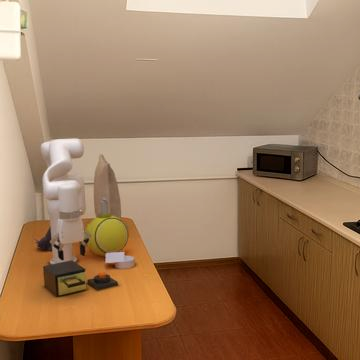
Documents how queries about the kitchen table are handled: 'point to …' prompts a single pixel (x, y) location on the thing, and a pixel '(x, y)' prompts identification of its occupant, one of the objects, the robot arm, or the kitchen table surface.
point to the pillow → (106, 188)
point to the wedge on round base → (120, 260)
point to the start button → (102, 275)
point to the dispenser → (59, 274)
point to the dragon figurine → (46, 241)
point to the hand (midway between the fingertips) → (72, 257)
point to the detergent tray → (71, 282)
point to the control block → (102, 282)
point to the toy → (106, 232)
